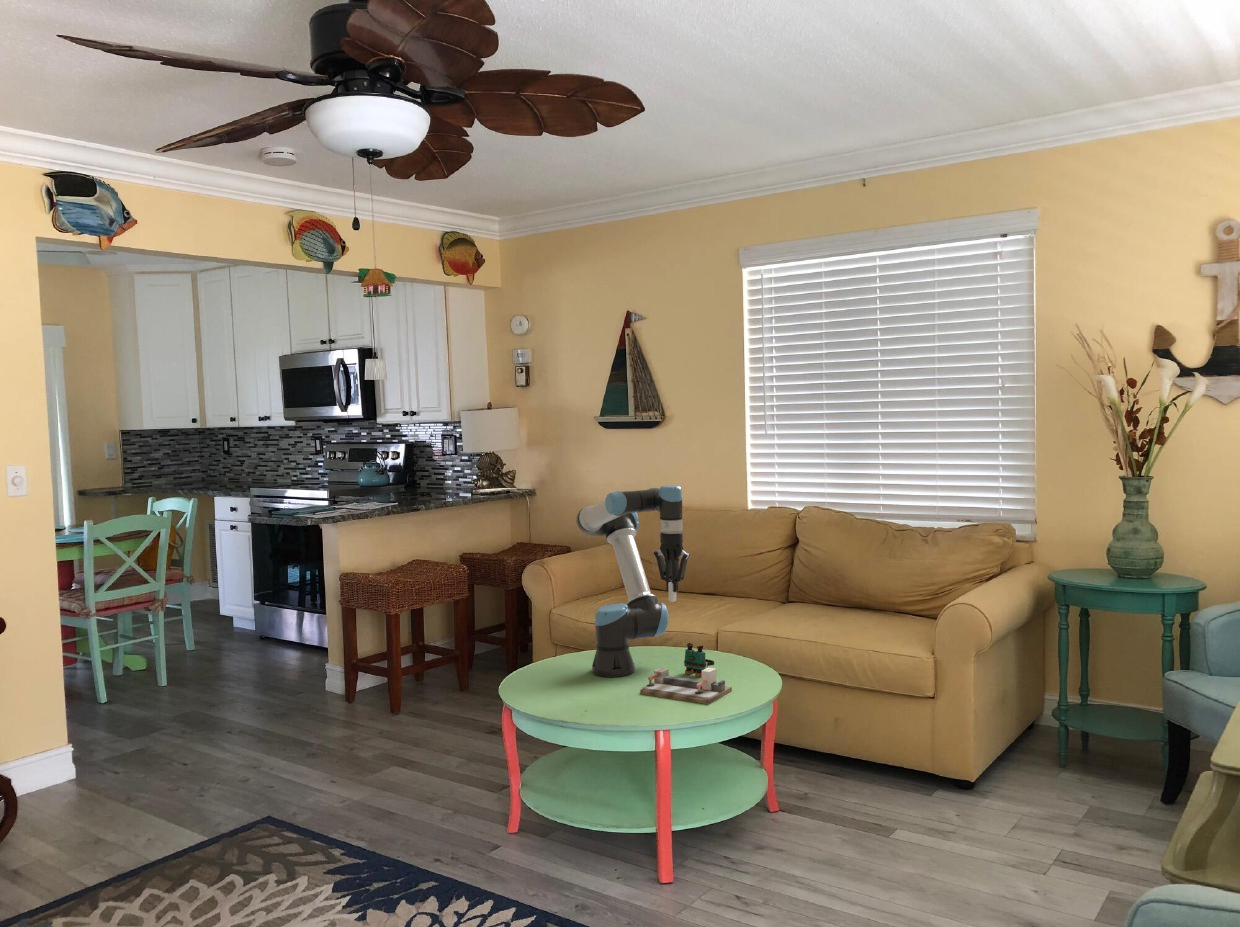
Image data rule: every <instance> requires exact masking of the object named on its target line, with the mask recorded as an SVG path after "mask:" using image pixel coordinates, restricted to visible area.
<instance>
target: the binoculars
mask: <svg viewBox="0 0 1240 927" xmlns="http://www.w3.org/2000/svg"><path fill="white" fill-rule="evenodd" d="M693 646H694V644H693V643H690V642H687V643H686V647H687V648H686V649H684V650H685V651H684V652H685V654H684V660H683V665H684V667H685V670H684V674H685V675H691V674H693V673H694V672H695V677H702V670H704V669H706V668H709V667H711V666H714V665H715V661H714V660H711V659H706V652H705V651H703V649H704V645H699V646H696V649H697V650H695V649H693Z"/></svg>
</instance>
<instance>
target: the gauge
mask: <svg viewBox="0 0 1240 927" xmlns="http://www.w3.org/2000/svg"><path fill="white" fill-rule="evenodd" d="M669 674H670V672H669V668H663V667H659V668H658V669H655V670H653V675H651V676H648V677H647V680H648V684H646V685H645V686H643V687H642V688H641V689H639V690H640V692H639V693H640V694H641V695H645V696H646V695H647V696H655V697H658V698H664V699H665V698H666V699H673V700H679V701H686V702H691V703H696V704H697V703H698V704H705V705H710V704H712V703H714V702H715V701H717V700H719V699H720V698H722V697H724V696H725V695H727V694H729V693H731V692H732V691H733V689H732V688H733V687H732V686H726V680H723V679H722V680H720V681H718V682H717V683H715V682H713V683H712V684H711V691H710V690H703V689H702V686H701V687H700V692H698V687H697V684H698V683H700V682H702V679H701V680H700V679H693V678H686V677H679V676H672V675H669ZM652 680H653V681H652Z"/></svg>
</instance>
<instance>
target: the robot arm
mask: <svg viewBox="0 0 1240 927" xmlns="http://www.w3.org/2000/svg"><path fill="white" fill-rule="evenodd" d="M683 498H684V497H683V494H682V487H681V486H680V485H674V484H672V485H671V484H668V485H665V484H664V485H661V486H660V487H659V488H658V487H651V488H647V489H641V490H640V489H639V490H630V491H628V490H626V491H615V492H609V493H607V495H606V497H605V499H604V500H602V501H600V502H598V503H597V504H594V505H592V504H591V505H587V506H585V507H583V508H581V509H580V510H579V511H578V513H577V514H576V519H575V522H576V526H577V528H578V529H579V530H580V532H582V533H583V534H585V535H586V536H587V535H588V536H590V537H604V536H605V538H606V541H607V543H608V544H610V545H612V548H613V551H614V554H615V558H616V561H617V565H618V569H619V572H620V575H621V579H622V582H623V585H624V588H625V592H626V596H627V599H628V601H627V603H623V602H620V603H619V602H618V603H608V604H606V605H602V606H600V607H599V608H598V609H597V610H596V611H595V616H594V625H595V626H594V627H595V647H596V648H595V654H594V658H593V661H592V665H591V673H592V674H593V675H594V676H598V677H605V678H617V677H625V676H629V675H632V674H633V673H634V672H635V671H636V670H635V666H636V665H635V662H634V659H633V656H632V653H631V651H630V641H632V640H639V639H647V638H655V637H660V636H662V635H664V634H665V633H666V631H667V629H668V625H669V624H668V623H669V611H668V607H667V606H666V604H665V603H664V602H659V601H658V597H657V596H656V595H655V594H653V593H652V590H651V589H650V585H649V583H648V582H649V581H648V578H647V575H646V572H645V569H644V566H643V562H642V559H641V556H640V553H639V549H638V546H637V543H636V539H635V537H636V536H637V534H638V533H637V532H638V530H639V527H640V522H639V516H638V513H649V512H659V530H660V533H659V535H660V536H659V537H660V539H659V540H660V541H659V542H660V546H659V549H658V550H656V551H654V552H653V555H654V557H655V558H656V564H657V566H658V571H659V575H660V579H661V580H662V581H665V583H666V590H665V591H666V592H668V602H669V603H674V602H676V601H677V593H678V592H679V582H681V581H684V577H685V574H686V569H687V562H688V560H689V558H690V556H691V553H689V552H686V551H685V549H684V546H683V542H684V540H683V539H684V538H683V537H684V536H683V530H684V529H683ZM680 557H681V559H680ZM679 563H680V564H679Z"/></svg>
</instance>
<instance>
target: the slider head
mask: <svg viewBox="0 0 1240 927" xmlns="http://www.w3.org/2000/svg"><path fill="white" fill-rule="evenodd" d="M701 681H702V682H700V683H698V684H697V687H698V692H700V687H701V686H702V689H703V690H710V691H711V684H712V683H713V682H715V683H718V682H717V668H715V667H714V668H713V667H706V668H705V669H704V670H702V676H701Z"/></svg>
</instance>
